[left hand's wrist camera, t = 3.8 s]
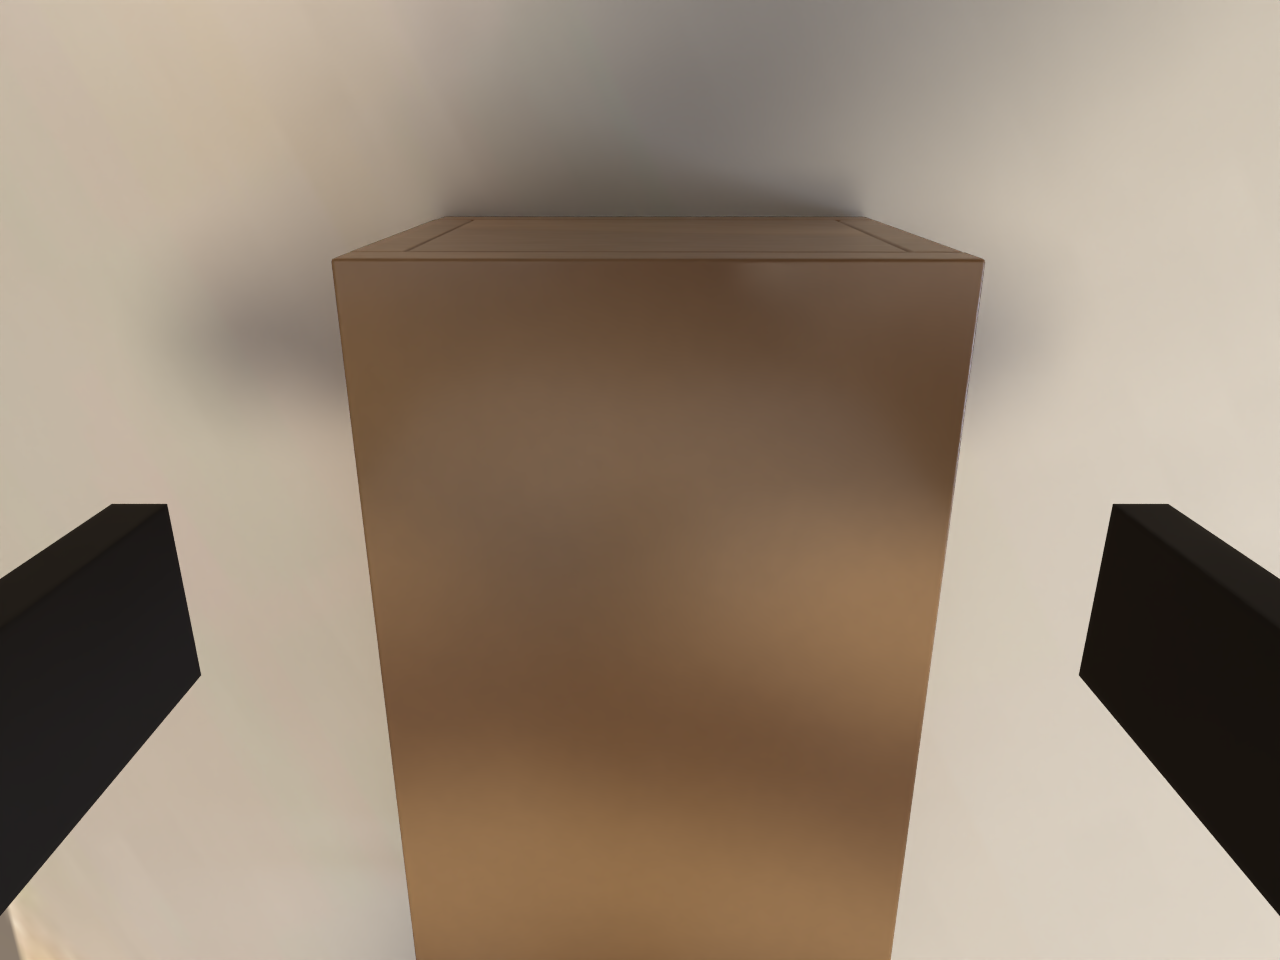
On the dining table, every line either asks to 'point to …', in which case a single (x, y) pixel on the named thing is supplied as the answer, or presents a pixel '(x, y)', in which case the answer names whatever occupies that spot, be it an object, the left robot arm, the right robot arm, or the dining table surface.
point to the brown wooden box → (655, 571)
